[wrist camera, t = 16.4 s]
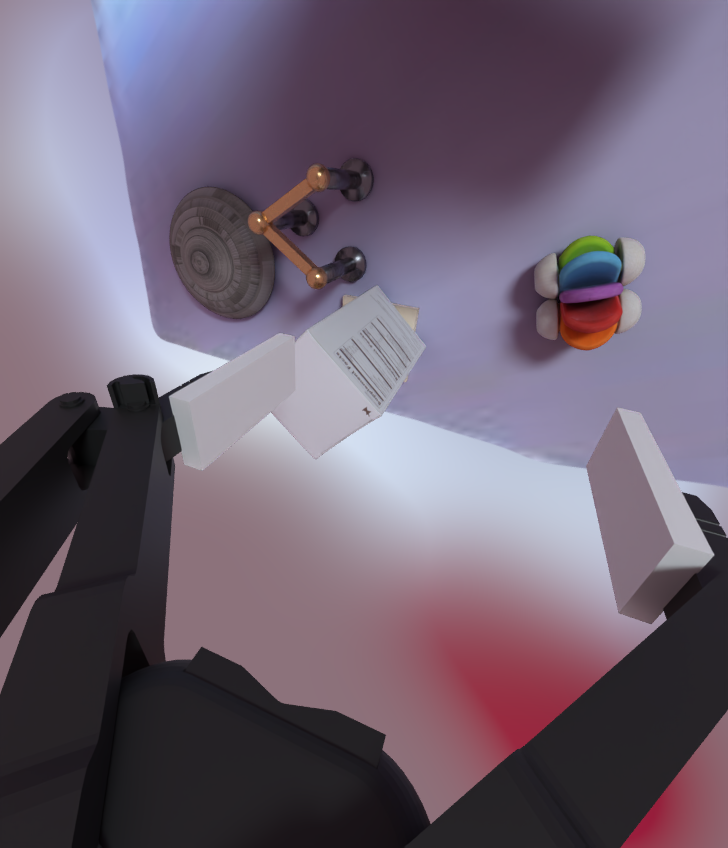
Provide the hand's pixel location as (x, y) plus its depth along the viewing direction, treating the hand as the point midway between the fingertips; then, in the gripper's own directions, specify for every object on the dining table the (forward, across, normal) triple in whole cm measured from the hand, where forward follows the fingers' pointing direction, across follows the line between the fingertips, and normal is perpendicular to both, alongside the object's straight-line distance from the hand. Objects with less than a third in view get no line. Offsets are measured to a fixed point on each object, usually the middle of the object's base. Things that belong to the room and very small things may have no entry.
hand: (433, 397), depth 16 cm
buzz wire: (+29, -18, +3) cm, 34 cm away
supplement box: (+28, -11, -9) cm, 31 cm away
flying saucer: (+29, -32, -2) cm, 43 cm away
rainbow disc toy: (+29, +9, 0) cm, 30 cm away
